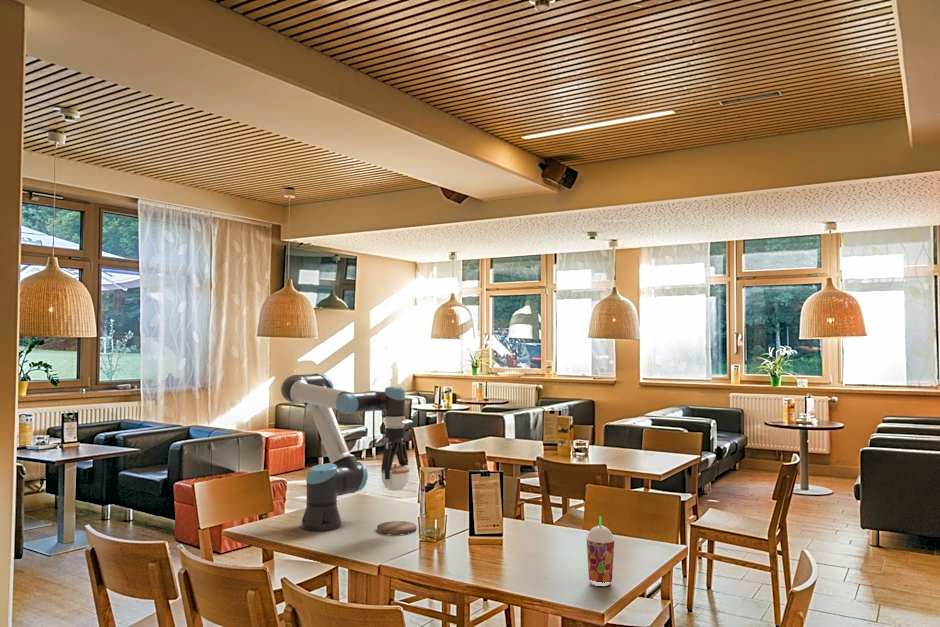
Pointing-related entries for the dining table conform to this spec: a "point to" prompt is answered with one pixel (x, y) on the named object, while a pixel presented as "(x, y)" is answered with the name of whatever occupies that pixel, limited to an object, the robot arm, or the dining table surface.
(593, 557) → the smoothie
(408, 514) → the dining table surface
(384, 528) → the stand
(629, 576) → the dining table surface
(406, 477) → the lidded jar
